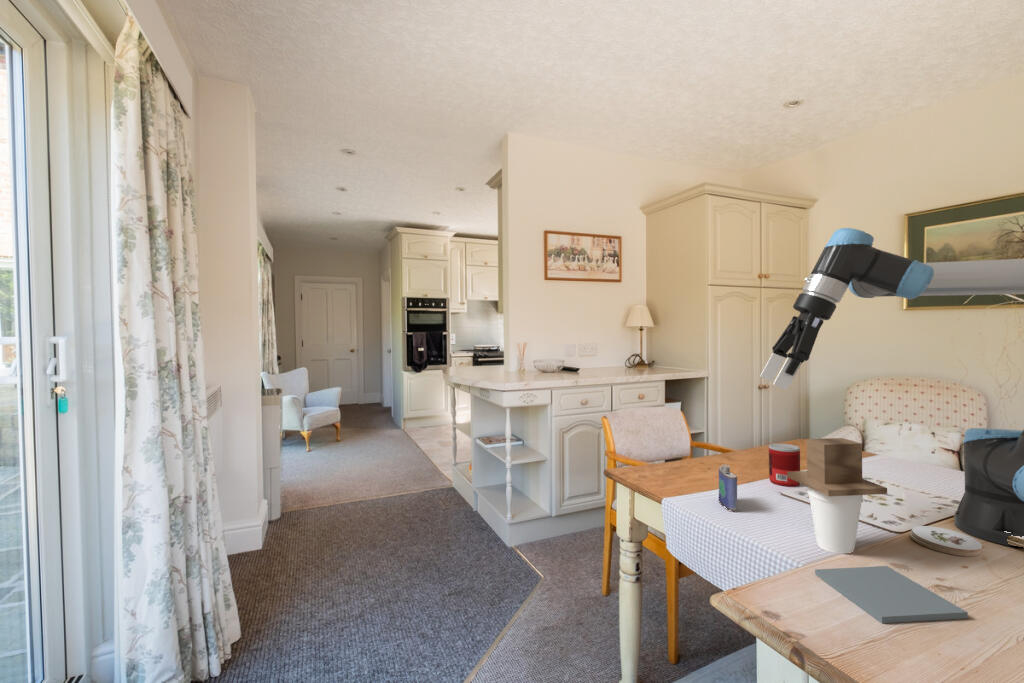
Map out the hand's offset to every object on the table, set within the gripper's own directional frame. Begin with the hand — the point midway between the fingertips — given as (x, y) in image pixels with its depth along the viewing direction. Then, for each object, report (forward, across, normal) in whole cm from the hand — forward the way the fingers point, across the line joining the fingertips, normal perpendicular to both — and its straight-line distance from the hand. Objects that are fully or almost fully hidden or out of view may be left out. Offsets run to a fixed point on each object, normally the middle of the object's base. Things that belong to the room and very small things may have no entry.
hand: (772, 383), depth 102 cm
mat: (+24, +26, +24) cm, 43 cm away
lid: (+14, +8, +18) cm, 24 cm away
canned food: (+27, -34, +24) cm, 50 cm away
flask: (+34, -10, +7) cm, 37 cm away
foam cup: (+26, +8, +23) cm, 36 cm away
